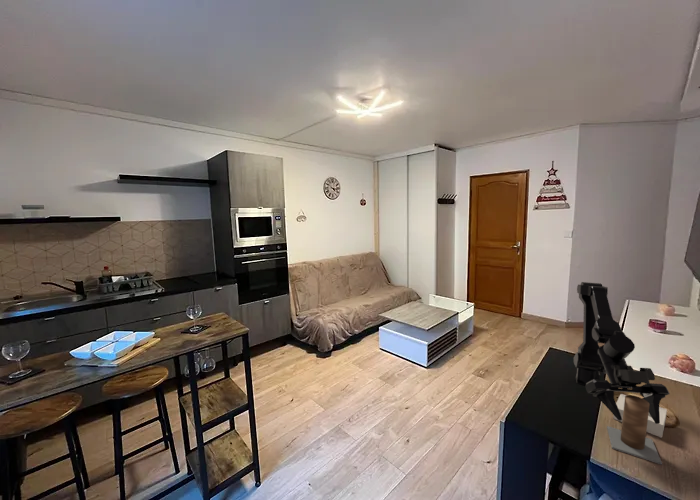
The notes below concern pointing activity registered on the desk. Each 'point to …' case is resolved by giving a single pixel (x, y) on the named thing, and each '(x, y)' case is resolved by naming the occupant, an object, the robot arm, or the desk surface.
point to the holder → (651, 425)
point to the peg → (634, 422)
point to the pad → (646, 453)
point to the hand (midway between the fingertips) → (638, 421)
